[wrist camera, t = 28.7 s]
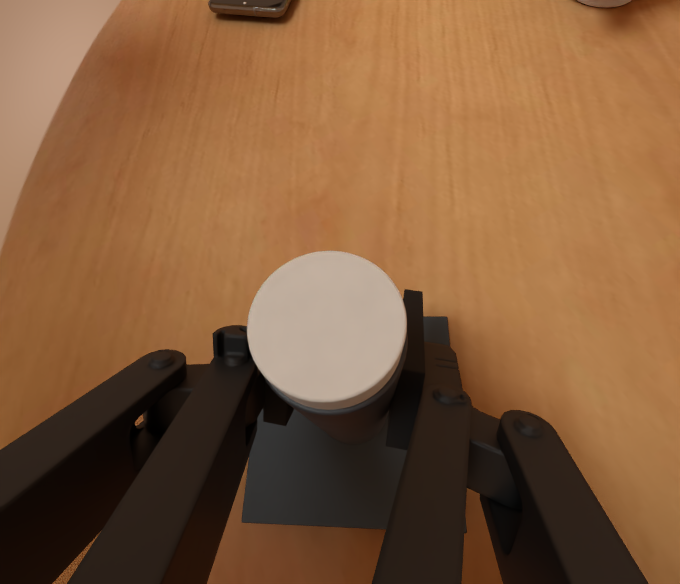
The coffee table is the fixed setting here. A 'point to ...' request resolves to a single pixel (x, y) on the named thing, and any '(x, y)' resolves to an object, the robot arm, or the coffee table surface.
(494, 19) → the coffee table surface
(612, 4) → the teacup
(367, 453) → the pad
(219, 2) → the smartphone
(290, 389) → the dark grey capped cylinder
